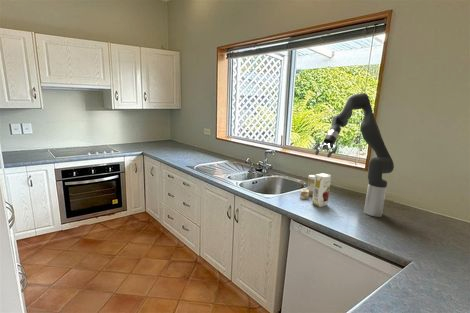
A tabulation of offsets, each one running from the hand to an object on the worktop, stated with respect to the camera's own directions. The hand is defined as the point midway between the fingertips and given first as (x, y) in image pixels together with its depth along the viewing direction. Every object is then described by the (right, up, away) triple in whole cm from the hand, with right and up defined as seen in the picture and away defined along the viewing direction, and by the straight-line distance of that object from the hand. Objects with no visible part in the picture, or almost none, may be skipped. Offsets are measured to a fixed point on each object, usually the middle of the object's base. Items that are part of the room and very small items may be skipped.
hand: (322, 155), depth 181 cm
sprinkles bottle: (-9, -27, -3) cm, 28 cm away
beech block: (-15, -28, -9) cm, 32 cm away
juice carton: (-8, -30, -19) cm, 37 cm away
